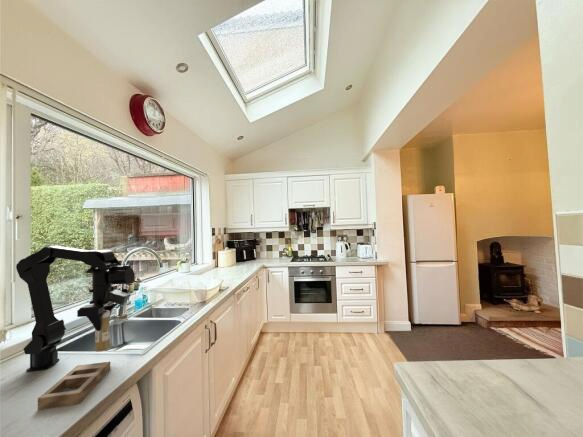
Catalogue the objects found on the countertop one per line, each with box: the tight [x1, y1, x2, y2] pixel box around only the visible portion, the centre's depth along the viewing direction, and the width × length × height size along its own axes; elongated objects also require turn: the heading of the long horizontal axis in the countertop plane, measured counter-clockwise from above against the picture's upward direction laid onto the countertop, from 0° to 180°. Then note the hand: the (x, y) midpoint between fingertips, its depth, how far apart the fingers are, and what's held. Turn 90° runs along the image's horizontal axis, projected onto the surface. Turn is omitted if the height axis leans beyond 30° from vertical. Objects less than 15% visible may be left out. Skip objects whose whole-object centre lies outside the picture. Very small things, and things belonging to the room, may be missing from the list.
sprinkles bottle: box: [94, 310, 111, 353], centre depth 93 cm, size 5×5×14 cm
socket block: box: [37, 361, 111, 411], centre depth 79 cm, size 10×17×3 cm, turn 11°
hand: (102, 327), depth 93 cm, fingers closed on sprinkles bottle, 4 cm apart
